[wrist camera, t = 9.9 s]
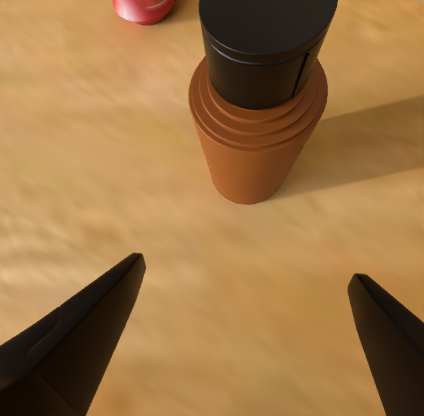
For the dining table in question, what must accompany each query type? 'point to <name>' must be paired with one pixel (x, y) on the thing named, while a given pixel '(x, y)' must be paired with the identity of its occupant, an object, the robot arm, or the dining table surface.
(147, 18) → the liquor
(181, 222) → the dining table surface
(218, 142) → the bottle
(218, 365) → the dining table surface
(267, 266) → the dining table surface
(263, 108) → the cap
